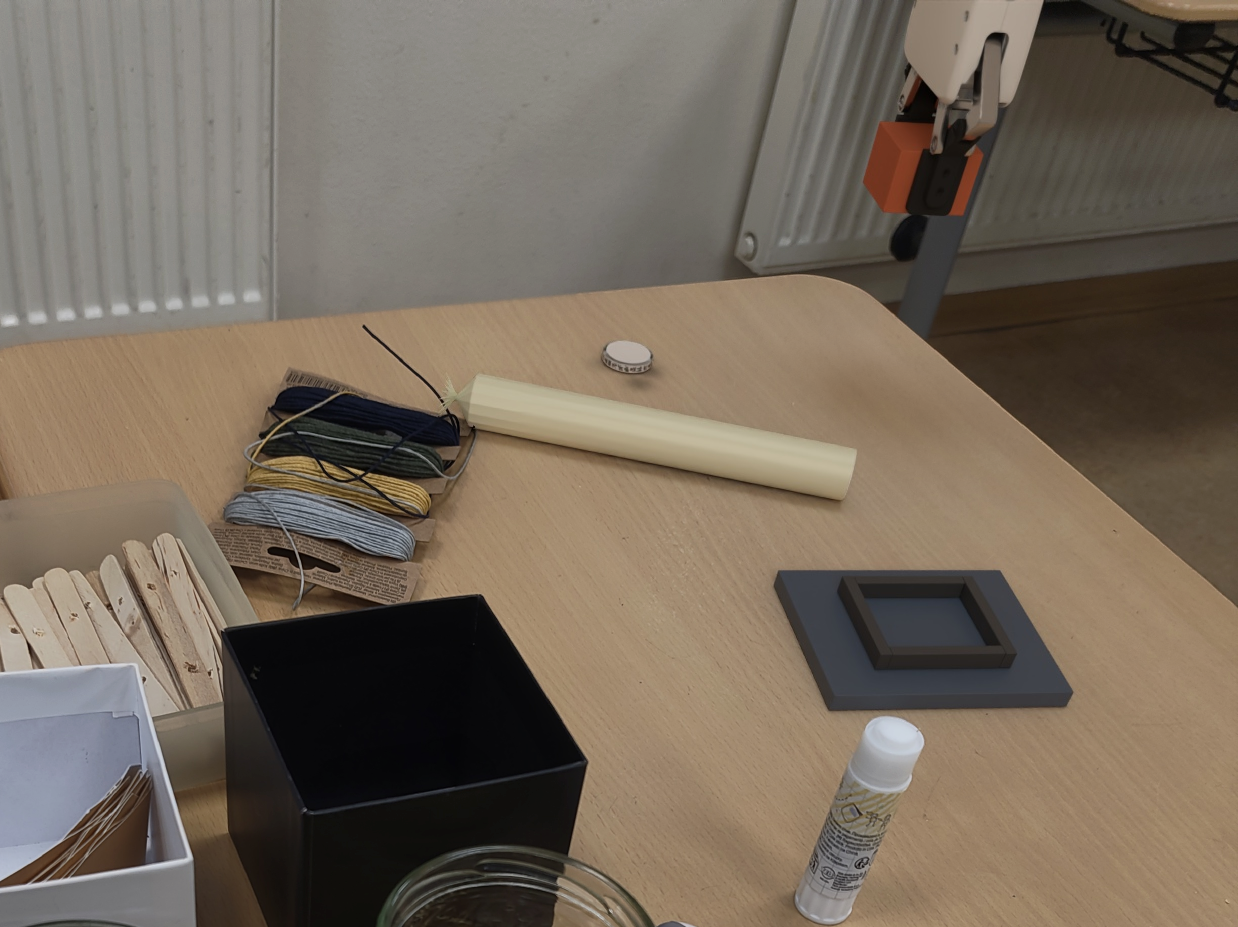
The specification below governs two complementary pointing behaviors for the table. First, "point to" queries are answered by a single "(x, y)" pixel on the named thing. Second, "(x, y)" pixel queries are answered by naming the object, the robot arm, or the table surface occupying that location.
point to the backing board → (919, 640)
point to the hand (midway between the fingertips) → (914, 193)
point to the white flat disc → (627, 356)
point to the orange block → (908, 166)
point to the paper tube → (655, 436)
